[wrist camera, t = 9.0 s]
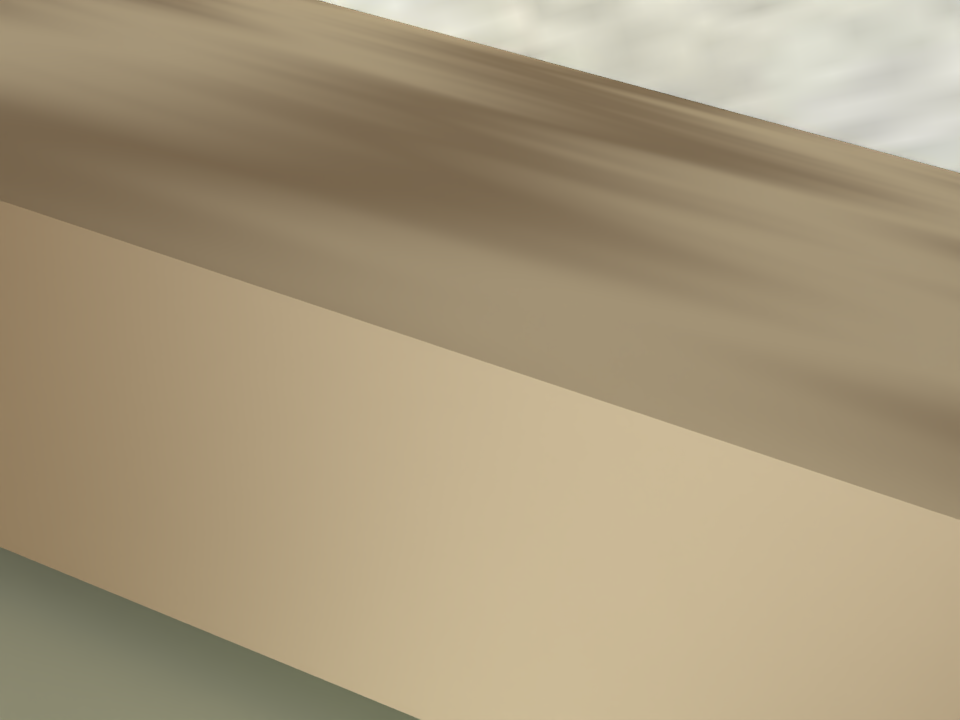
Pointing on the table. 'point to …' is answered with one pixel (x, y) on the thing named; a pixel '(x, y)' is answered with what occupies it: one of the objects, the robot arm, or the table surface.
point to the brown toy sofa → (475, 369)
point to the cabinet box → (140, 662)
